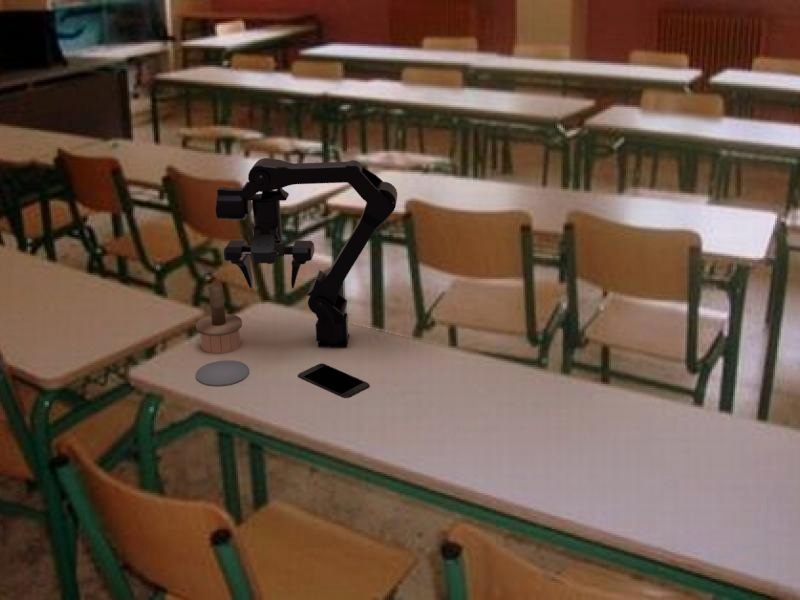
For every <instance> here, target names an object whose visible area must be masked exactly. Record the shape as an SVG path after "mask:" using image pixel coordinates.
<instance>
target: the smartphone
mask: <svg viewBox="0 0 800 600" xmlns="http://www.w3.org/2000/svg"><path fill="white" fill-rule="evenodd" d="M297 378H299V379H300V380H303V381H305V382H307V383H309V384H311V385H313V386H317V387H318V388H320V389H323V390H325V391H327V392H329V393H332V394H333V395H336V396H338V397H341V398H342V399H348V398H352V397H354V396H355V395H358V394H359V393H361V392H364V391H365V390H367V389H369V388H370V387H371V386H370V385H371V384H370V383H369V382H367V381H365V380H362V379H360V378H358V377H355V376H353V375H352V374H349V373H347V372H344V371H341V370H339V369H337V368H335V367H332V366H330V365H328V364H325V363H319V364H316V365H314V366H312V367H309V368H307V369H305V370H303V371H301V372H300V373H298V374H297Z"/></svg>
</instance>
